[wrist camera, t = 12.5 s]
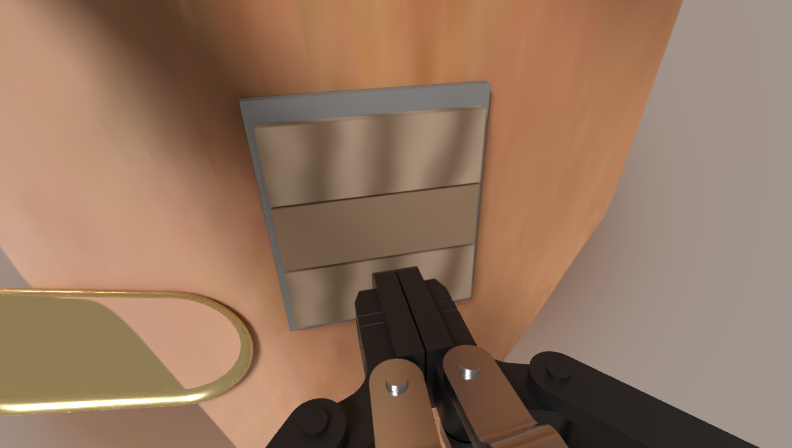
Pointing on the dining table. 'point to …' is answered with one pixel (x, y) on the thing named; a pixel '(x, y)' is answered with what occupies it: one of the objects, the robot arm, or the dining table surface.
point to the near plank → (370, 154)
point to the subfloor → (375, 214)
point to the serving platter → (91, 355)
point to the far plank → (340, 283)
